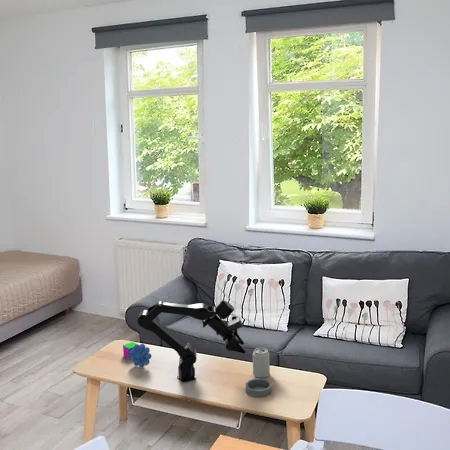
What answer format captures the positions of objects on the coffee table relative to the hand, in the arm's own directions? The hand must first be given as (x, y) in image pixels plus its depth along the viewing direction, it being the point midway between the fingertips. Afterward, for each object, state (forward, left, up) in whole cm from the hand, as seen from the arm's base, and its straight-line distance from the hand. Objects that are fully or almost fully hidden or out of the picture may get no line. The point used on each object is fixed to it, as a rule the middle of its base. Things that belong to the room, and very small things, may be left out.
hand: (244, 348), depth 250 cm
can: (+6, -3, -13) cm, 15 cm away
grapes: (-35, +34, -13) cm, 51 cm away
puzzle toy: (-35, +48, -13) cm, 61 cm away
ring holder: (-3, -15, -13) cm, 20 cm away
